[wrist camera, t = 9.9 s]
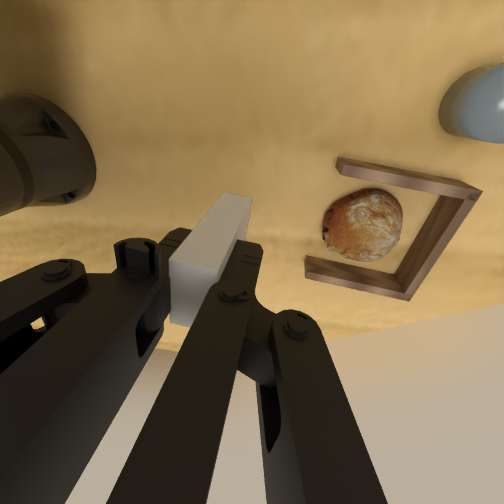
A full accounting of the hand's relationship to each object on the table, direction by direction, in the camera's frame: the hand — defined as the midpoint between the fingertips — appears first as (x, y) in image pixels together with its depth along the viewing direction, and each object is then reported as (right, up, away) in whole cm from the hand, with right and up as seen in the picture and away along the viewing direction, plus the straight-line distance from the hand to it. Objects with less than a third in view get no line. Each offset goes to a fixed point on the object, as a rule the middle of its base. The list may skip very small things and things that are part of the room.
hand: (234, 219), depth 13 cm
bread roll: (+16, +3, +22) cm, 28 cm away
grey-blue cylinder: (+25, +14, +13) cm, 32 cm away
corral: (+18, +2, +22) cm, 28 cm away
